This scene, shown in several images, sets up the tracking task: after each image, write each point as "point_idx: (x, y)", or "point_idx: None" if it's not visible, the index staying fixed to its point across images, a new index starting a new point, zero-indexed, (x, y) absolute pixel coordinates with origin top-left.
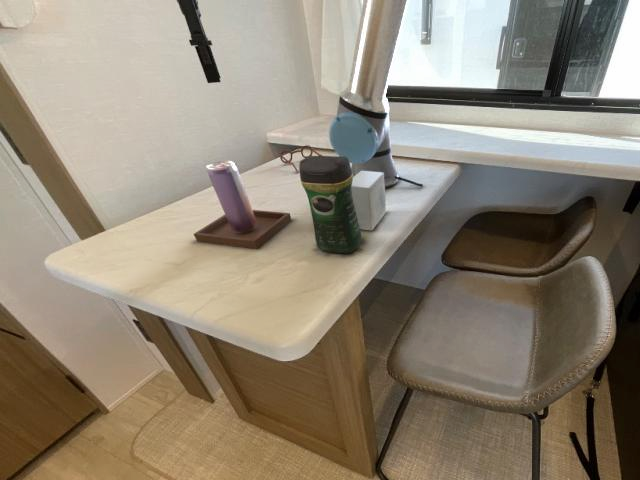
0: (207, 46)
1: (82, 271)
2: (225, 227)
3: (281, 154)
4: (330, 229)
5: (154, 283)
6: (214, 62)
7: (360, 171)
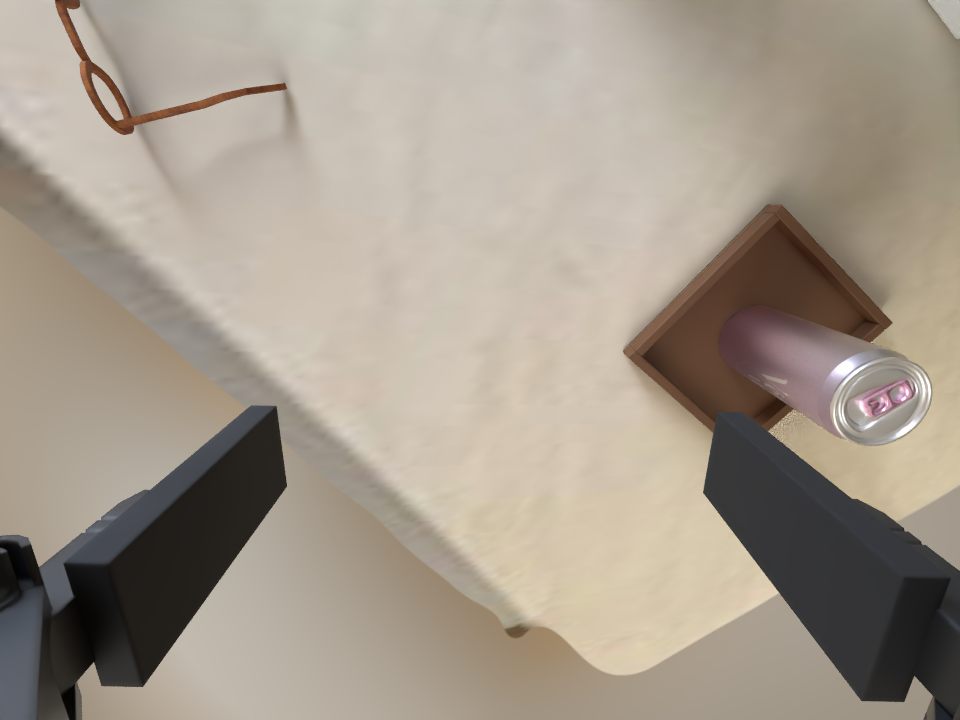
0: (933, 583)
1: (717, 622)
2: (704, 384)
3: (113, 120)
4: None
5: None
6: (218, 471)
7: None
